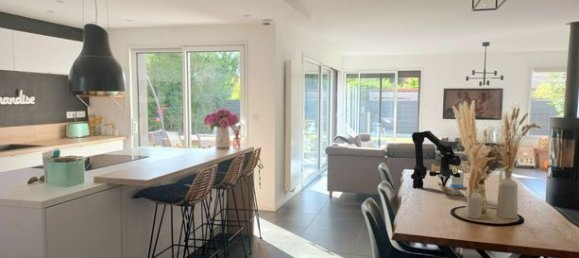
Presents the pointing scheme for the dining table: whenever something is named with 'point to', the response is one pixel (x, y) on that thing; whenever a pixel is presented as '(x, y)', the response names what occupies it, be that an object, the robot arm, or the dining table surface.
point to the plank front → (446, 190)
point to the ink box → (456, 181)
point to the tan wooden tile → (457, 192)
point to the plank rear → (442, 185)
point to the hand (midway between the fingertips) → (443, 186)
